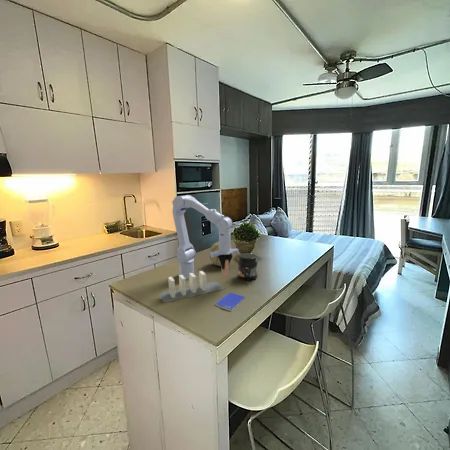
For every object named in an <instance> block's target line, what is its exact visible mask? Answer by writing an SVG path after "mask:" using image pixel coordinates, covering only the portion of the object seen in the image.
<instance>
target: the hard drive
mask: <svg viewBox="0 0 450 450" xmlns="http://www.w3.org/2000/svg"><path fill="white" fill-rule="evenodd" d="M245 298H246V296H244V295H240V294H236V293H233V292H229V293H228V294H226V295H225V296H223V297H222V298H221V299H219V300H218V301H217V302H215V303H214V306H217V307H219V308H220V309H223V310H226V311H229V312H232V311H234V310H235V309H236V308H237V307H238V306H239V305H240V304H241V303H242V301H243V300H245Z"/></svg>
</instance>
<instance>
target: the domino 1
mask: <svg viewBox="0 0 450 450" xmlns="http://www.w3.org/2000/svg"><path fill="white" fill-rule="evenodd" d="M167 278H168V281H167V282H168V291H169V294H170V296H171V297H172V298H174V297H175V290H176V284H175V279H174V277H173V276H169V277H167Z"/></svg>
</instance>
